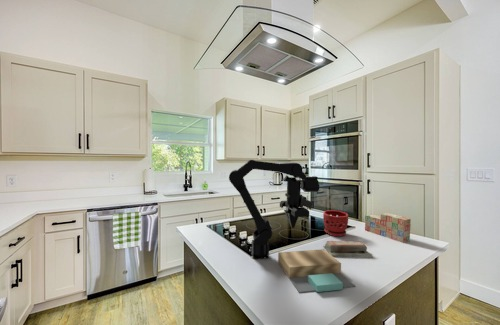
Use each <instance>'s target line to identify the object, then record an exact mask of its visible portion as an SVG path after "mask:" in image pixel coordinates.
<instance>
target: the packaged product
mask: <svg viewBox="0 0 500 325" xmlns="http://www.w3.org/2000/svg"><path fill="white" fill-rule="evenodd" d="M323 248H324V250H325V251H326V252H328V253H329V254H330V255H331V256H333V257H335V258H336V257H338V258H339V257H342V258H344V257H345V258H373V254H372V253H370V252H369V251H368V246H367V245H366V244H365V243H364V242H361V241H360V242H359V241H346V240H343V241H342V240H341V241H340V240H327V241H326V242H325V244H324V245H323Z"/></svg>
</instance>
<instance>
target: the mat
mask: <svg viewBox="0 0 500 325" xmlns="http://www.w3.org/2000/svg"><path fill="white" fill-rule="evenodd" d="M333 275H335V276H336V277H337V278H338V279H339V280H340V281H341V282H342V283H343V289H349V288H355V287H356V284H354V283H353V282H352V281H351V280H350V279H349V278H347V277H346V276H345V275H344V274H342V272H341V273H336V274H333ZM288 279H289V280H290V282H291V283H292V285H293V286H294V288H295V289H296V290H297V293H299V294H301V293H310V292H311V293H312V292H316V291H315V289H314V288H313V287H312V286H311V284H310V283H309V282H308V276H304V277H293V278H289V277H288Z"/></svg>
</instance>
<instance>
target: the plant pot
mask: <svg viewBox="0 0 500 325" xmlns="http://www.w3.org/2000/svg"><path fill="white" fill-rule="evenodd" d="M322 213H323V214H322V215H323V218H322V219H323V224H324V225H323V226H324V229H323V230H324V232H325V233H326V234H327V233H328V235H329V234H330V236H332V237H344V236H345V235H346V234H347V231H346V229H347V228H348V224H349V214H348V213H347V212H344V211H341V210H334V209H333V210H332V209H329V210H325V211H323V212H322Z"/></svg>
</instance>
